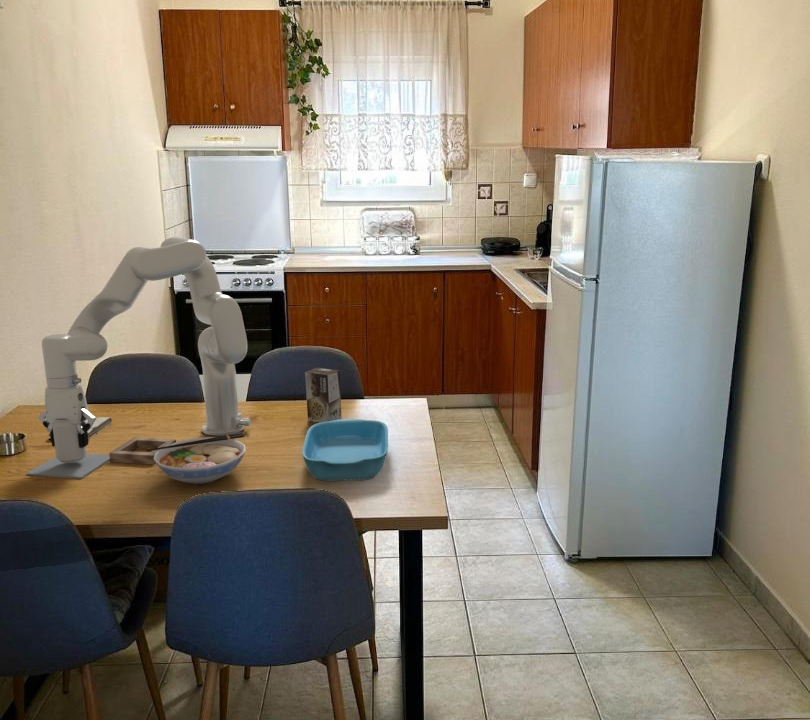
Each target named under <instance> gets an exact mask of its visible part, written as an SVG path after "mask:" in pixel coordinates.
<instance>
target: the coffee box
mask: <svg viewBox="0 0 810 720" xmlns="http://www.w3.org/2000/svg"><path fill="white" fill-rule="evenodd" d="M340 373H341V371H340V370H338V369H330V368H326V367H325V368H324V367H315V368H312V369H309V370H307V371H304V374H305V375H304V377H305V378H304V379H305V380H304V381H305V392H306V396H305V397H306V411H307V421H308V422H310V421H314V422H313V423H315V422H320V423H321V422H328V421H334V420H340V419H343V417H342V402H341V401H342V400H341V398H342V397H341V394H342V393H341V374H340Z"/></svg>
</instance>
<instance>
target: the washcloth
mask: <svg viewBox="0 0 810 720" xmlns="http://www.w3.org/2000/svg"><path fill="white" fill-rule="evenodd" d="M84 421H85V422H86V424H87V422H88V419H87V420H84ZM112 421H113V419H112V417H108V416H107V417H102V416H100V417H96V420H95V422H94V423H93V425H92V427H91V428H90V429H89V430H88V439H90V438H92V437H94V436H95V435H97V434H98V433H100V432H101V431H102V429H103V430H105V428H106V427H105V426H107V427H108V426H110V425H112ZM100 430H101V431H100ZM99 431H100V432H99ZM48 433H49V434H48V437H50V432H48ZM96 433H97V434H96ZM93 435H94V436H93ZM49 439H51V438H49Z"/></svg>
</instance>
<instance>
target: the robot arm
mask: <svg viewBox="0 0 810 720" xmlns="http://www.w3.org/2000/svg"><path fill="white" fill-rule="evenodd" d="M181 275H184V277H185V279H186V282H187V284H188V285H187V286H188V289H189V293H190V299H191V302H192V307H193V311H194V314H195V317H196V319H197V320H198V321H199V322H201V323H203V324H206V325H209V327H207V328H205V329H204V330H202V332H200V334H199V336H198V341H197V348H198V353H199V357H200V362H201V368H202V376H203V377H202V378H203V390H204V391H203V393H204V404H205V405H204V406H205V417H206V423H205V424H203V425H202V426H201V431H202V433H204V434H206V435H209V436H213V437H214V436H215V437H220V436H225V435H231V434H236V433H241V432H242V431H243V430H244V429H245V427H252V426H251V425H252V420H251V418H250V417H243V415H242V412H239V403H238V388H237V371H236V364H238V363H240V362H242V361H243V360H244V358H245V357H246V355H247V352H248V339H247V338H248V337H247V333H246V329H245V325H244V324H245V323H244V319H243V314H242V310H241V308H240V306H239V304H238V302H237V301H236V300H235V299H234V298H233V297H231V296H230V295H227V294H223V292H222V289H221V285H220V282H219V279H218V275H217V272H216V269H215V267H214V264H213V263H212V261H211V260H210V258H209V257H208V255H207V252H206V249H205V246H204V245H203V244H202V243H201V242H200V241H198V240H195V239H192V238H191V239H190V238H184V237H178V236H177V237H176V236H175V237H174V236H172V237H168V238H165V240H163V241H162V243H161V244H160V246H159V247H155V248H149V247H143V246H137V247H133V248H131V249H129V250H128V251H127V252H126V253H125V255H124V256H123V257H122V260H121V261H120V263H119V264H118V266H117V267H116V268H115V270H114V272H113V274H112V275H111V277H110V278H109V279H108V280H107V283H106V284H105V286H104V287H103V289H102V290H101V292H99V293H98V294H97V295H95V297H94V298H93V299H91V301H90V302H89V303H87V304H86V306H85V307H84V308H83V309H82V310H81V311H80V313H79V314H78V316H76V319H75V320H74V322H73V323H72V325H71V326H70V328H69V330H68V332H67V334H65V333H64V334H62V333H60V334H59V333H58V334H49V335H46V336H45V337H43V338H42V340H41V349H42V357H43V365H44V371H45V378H46V379H45V380H46V387H45V389H44V410H43V411H42V412H41V413H40V414H39V415H37V419H38V420H39V421H40V422H41V423H42V425H43V426H44V427H45V429H46V432H48V433H50V436H49V437H50V438H51V440H50V442H51V447H55V442H54V434H53V427H52V424H53V423H54V422H55V420H54V419H56V420H70V421H69V422H70V423H72V424H74V425H76V427H77V429H78V431H79V432H80V433H79V434H78V440H79V447H80V448H83V447H85V446H86V447H87V446H88V445H89V441H90V440H89V438H88V430H89V429H90V428H91V427H92V425H93V423H94V422H95V420H96V418H97V417H96V416H94V415H93V414H92V413H91V412H90V411H89V407H88V403H87V402H88V401H87V399H86V395H85V392H84V389H83V386H82V385H81V383H82V378H81V377H78V372H77V363H76V362H79V361H82V362H83V361H97V360H99V359H101V358H102V357H104V356H105V354H106V353H107V352H108V346H109V345H108V342H107V340H106V338H105V337H104V336H103V335H102V334H100V333H101V331H102V330H103V328H105V326H106V325H107V324H108V323H109V322H110V321H111V320H112V319H113V318H115V317H116V316H119V315H120V314H123V313H124V312H127V311H128V310H130V308H132V307H133V305H134V303H135V302H136V300H137V298H138V297H139V295H140V294H141V292H142V291H143V290H144V287H145V286H146V285H147V283H148V281H149V282H153V281H155V282H156V281H161V280H165V279H169V278H170V279H171V278H174V277H178V276H181ZM87 419H88V422H87V424H86V422H85V421H84V420H87ZM81 423H82V426H81ZM50 438H49V439H50Z"/></svg>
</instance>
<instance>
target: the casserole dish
mask: <svg viewBox="0 0 810 720" xmlns="http://www.w3.org/2000/svg"><path fill="white" fill-rule="evenodd" d="M388 450H389V428H388V425H387V424H386V423H385V422H382V421H380V420H373V419H372V420H371V419H362V418H342V419H340V420H334V421H328V422H321V423H314V424H313V425H311V426H310V427H309V428H308V429H307V432H306V434H305V438H304V441H303V446H302V450H301V451H302V452H301V453H302V454H301V455H302V457H303V460H304V463H305V465H306V468H307V470H308V472H309V473H310V475H311V476H312V477H313V478H315V479H317V480H318V481H322V482H323V481H324V482H341V481H348V482H349V481H363V480H364V481H365V480H370V479H374V478H375V477H376V476H377V475H379V473H381V471H382V469H383V467H384V464H385V461H386V457H387V454H388Z"/></svg>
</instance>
